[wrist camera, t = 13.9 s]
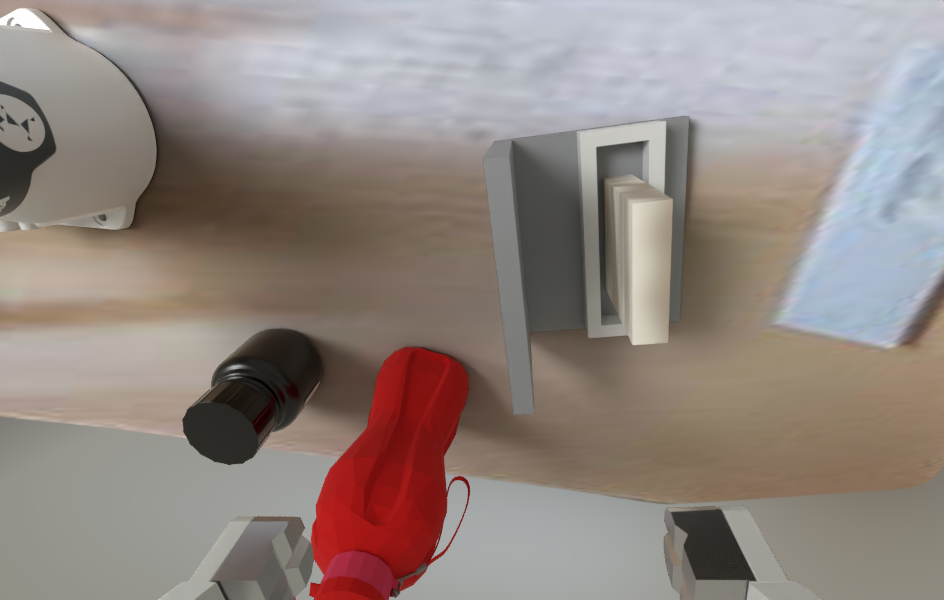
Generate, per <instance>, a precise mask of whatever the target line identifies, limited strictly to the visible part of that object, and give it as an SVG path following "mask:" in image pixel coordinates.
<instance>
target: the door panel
mask: <svg viewBox="0 0 944 600" xmlns="http://www.w3.org/2000/svg"><path fill="white" fill-rule="evenodd" d="M672 212H673V199H672V198H670V197H669V196H667V195H665V194H664V193H662V192H660V191H659V190H657V189H655V188H654V187H652V186H650V185H649V184H647V183H645V182H644V181H642V180H640V179H639V178H637V177H636V176H634V175H632V174H631V175H623V176H614V177H606V178H603V218H604V259H605V289H606V291H607V293H608V295H609V297H610V299H611V301H612V303H613V305H614V307H615V310H616V312H617V314H618V316H619V318H620V320H621V322H622V324H623V326H624V328H625V331H626V333H627V335H628V337H629V339H630V341H631V343H632V345H643V344H657V343H668V331H669V302H670V272H671V242H672Z"/></svg>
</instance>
